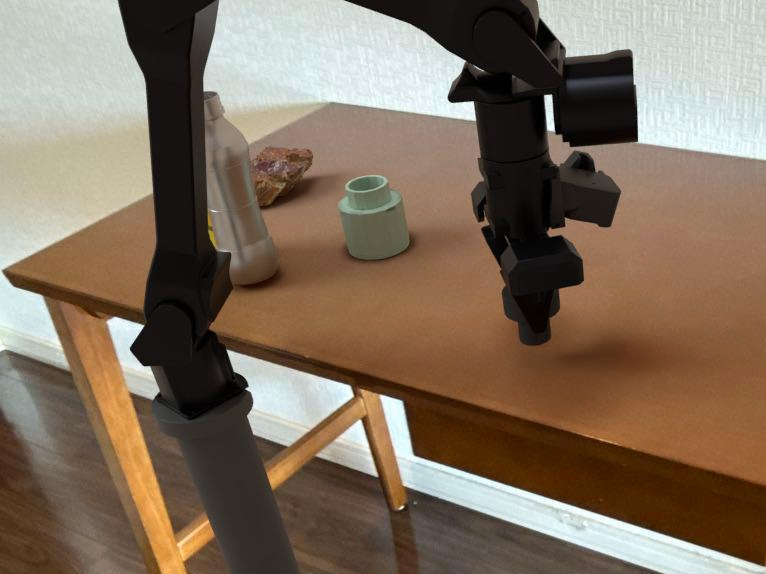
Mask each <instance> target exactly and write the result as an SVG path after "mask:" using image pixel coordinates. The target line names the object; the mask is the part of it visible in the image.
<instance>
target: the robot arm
mask: <svg viewBox="0 0 766 574" xmlns="http://www.w3.org/2000/svg"><path fill="white" fill-rule="evenodd" d="M343 1H344V2H347V3H350V4H351V5H355V6H358V7H361V8H364V9H367V10H370V11H372V12H375V13H378V14H381V15H383V16H386V17H389V18H392V19H395V20H397V21H401V22H403V23H406V24H408V25H411V26H412V27H414V28H416V29H418V30H420V31H421V32H423V33H425V34H426V35H427V36H428V37H430V39H432V40H434V41H435V42H436V43H437V44H439V45H440V46H441V47H442V48H444V49H445V51H446V52H447V51H448V52H449V53H450V54H453V55H454V56H456V57H458V58H460V59H462V60H463V61H464V64H463V66H462V70H461V72H460V73H459V74H458V75H457V77H456V78H454V80H453V81H451V82H452V83H451V85H450V87H449V91H448V93H447V101H448V102H449V103H450V104H459V103H461V104H462V103H471V102H472V103H473V109H474V115H475V123H476V125H475V126H476V133H477V138H478V146H479V153H480V157H477V165H478V171H479V173H480V175H481V177H482V178H483V180H481V181H478V182H477V184H476V185H475V187H474V188H473V189H472V190H471V192H470V198H471V205H472V206H471V207H472V211H473V215H474V216H475V219H476V222H477V223H484V222H485V220H486V221H487V223H488V224H486V225H484V226H482V227H481V228H480V232H481V234H482V236H483V239H484V240H485V243H486V245H487V246H488V248H489V250H490V252H491V253H492V255H493V258H494V260H495V261H496V263H497V265H498V266H499V268H500V269H499V274H500V276H501V278H502V280H503V283H504V286H505V285H506V287H507V288H508V290H509V292H510V294H511V295H512V296H513V298H514V300H515V302H516V303H517V305H518V307H519V308H520V310H521V312H522V313H523V315H524V317H525V319H526V320H527V322H528V324H529V326H530V327H531V329H532V331H533V333H534V334H538V333H543V332H545V331H546V327H547V322H548V317H549V312H550V307H551V302H552V298H553V294H554V290H556V289H559V290H560V289H566V288H571V287H576V286H580V285H581V284H582V283H583V282H584V281H585V274H584V273H585V271H584V259H583V258H582V256H581V255H580V253H579V251H578V249H577V248H576V245H574V243H573V242H572V241H570V240H569V239H567V238H566V237H565V236H563V234H558V235H552V236H550V234H549V233H548V232H549V230H550V229H551V230H556V229H562V228H566V227H567V226H566V219H568V220H571V221H575V222H583V223H589V224H595V225H597V226H598V227H599V228H611V227H612V224H613V222H614V219H615V218H614V217H615V214H616V211H617V208H618V204H619V202H620V198H621V195H622V190H621V189H620V187H619V186H618V185H617V183H616V182H615V181H614V179H613V178H612V177H611V176H610V175H607V174H606V173H605V172H604V170H600V169H598V171H596V165H595V161H594V158H593V157H592V156H591V154H590V153H589V152H585V151H580V150H573V151H572V152H571V153H570V155H569V156H568V157H567V158H566V159H565V161H564V162H560V163H559V165H557V163H555V162H554V161H553V159H552V158H551V153H550V145H549V144H550V143H549V142H550V141H549V133H548V131H549V130H548V121H547V108H546V97H545V96H551V100H552V101H551V102H552V114H553V115H552V117H553V118H552V119H553V125H554V126H553V127H554V128H553V129H554V133H555V135H556V136H561V139H562V143H568V144H569V148H579V147H580V148H581V147H592V146H594V147H595V146H606V145H607V146H608V145H620V144H631V143H639V117H638V116H639V113H638V112H639V111H638V96H637V84H635V76H634V75H635V74H634V53H633V51H632V49H630V48H626V49H625V48H624V49H617V50H612V51H609V52H606V53H599V54H591V55H590V54H588V55H578V56H577V55H576V56H567V48H566V47H565V45H563V42H561V41H560V40H559V38H558V37H557V36H556V35H555V33H554V32H553V31H552V29H550V27H549V26H548V25H547V24H546V22H545V21H544V20H543V19H542V18H541V17H540V15H541V13H540V7H539V1H538V0H343ZM117 6H118V8H119V9H118V10H119V13H120V17H121V21H122V26H123V29H124V33H125V37H126V43H127V45H128V47H129V49H130V51H131V53H132V56H133V58H134V59H135V62H136V64H137V66H138V67H139V69H140V71H141V73H142V76H143V79H144V83H145V96H146V97H145V98H146V112H147V125H148V126H147V127H148V140H149V154H150V155H149V157H150V168H151V182H152V183H151V185H152V196H153V197H152V199H153V211H154V212H153V213H154V225H155V226H154V227H155V248H154V251H153V255H152V258H151V263H150V266H149V270H148V274H147V277H146V281H145V288H144V289H145V290H144V299H143V306H142V313H143V317H144V321H145V324H144V326H143V327H142V328H141V330H140V331H139V333H138V334H137V336H136V337H135V339H134V341H133V342H132V343H131V345H130V346H129V351H130V352H131V354H132V355H133V356H134V358H136V360H137V361H138V363H140V365H141V366H142V367H146V368H147V367H149V368H150V370H151V372H152V376H153V378H154V381H155V382H156V385H157V387H158V390H159V391H160V393H159V394H158V393H157V394H158V395H157V394H155V396H156V400H157V401H158V402H159V403H161V404H162V405H164V406H166V407H167V408H169V409H170V410H172V411H174V412H175V413H177V414H178V415H180V416H182V417H183V418H185V419H187V420H193V419H195V418H197V417H199V416H200V415H202V414H204V413H206V412H208V411H210V410H211V409H213V408H215V407H217V406H219V405H221V404H222V403H224V402H226V401H228V400H230V399H231V398H233V397H235V396H237V395H239V394H241V393H242V392H243V388H242V386H241V385H239V384H237V383H235V382H233V381H234V380H235V379H236V376H235V373H234V372H235V370H234V367H233V364H232V361H231V358H230V355H229V352H228V349H227V346H226V344H225V343H223V342H222V341H220V340H219V337H218V334H217V332H215V331H214V330H211V329H210V327H211V326H212V324H213V323H214V322H215V321H216V319H217V317H218V316H219V314H220V312H221V310H222V309H223V307H224V305H226V302H227V300H228V298H229V297H230V296H231V293H232V292H233V290H234V283H232V282H231V280H230V274H229V270H230V263H231V252H220V251H216V249H215V247H214V245H213V243H212V241H211V239H210V237H209V232H208V206H207V176H206V146H205V115H204V91H205V88H204V86H205V85H204V77H205V71H206V68H207V67H206V66H207V63H208V60H209V59H208V58H209V55H210V51H211V47H212V44H213V40H214V36H215V33H216V32H215V31H216V25H217V18H218V13H219V6H220V0H117Z"/></svg>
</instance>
